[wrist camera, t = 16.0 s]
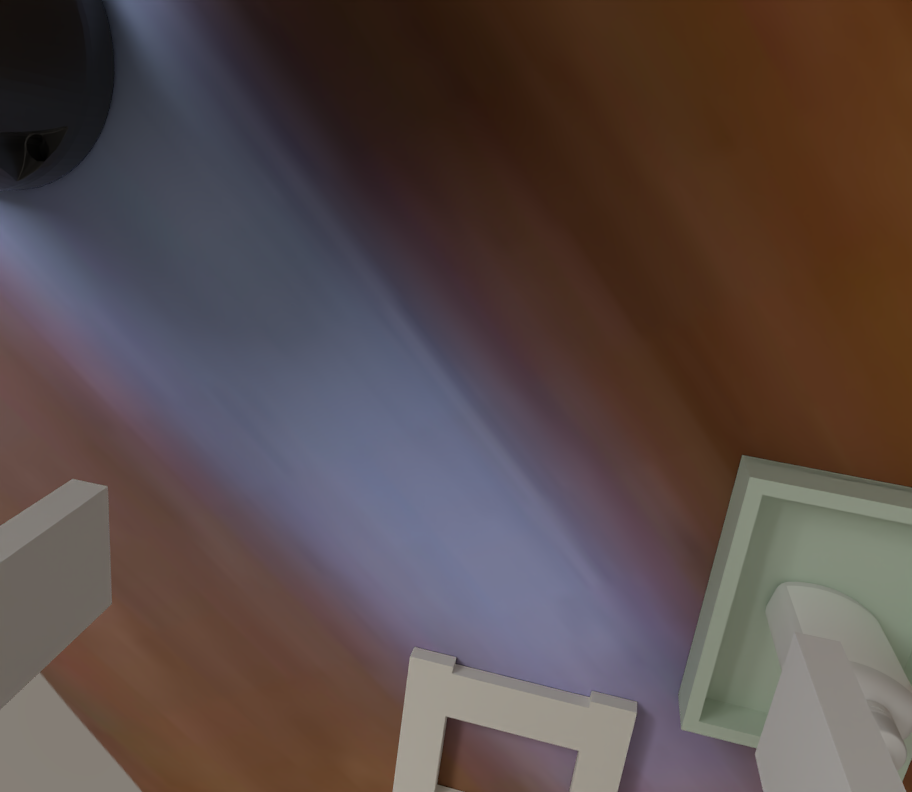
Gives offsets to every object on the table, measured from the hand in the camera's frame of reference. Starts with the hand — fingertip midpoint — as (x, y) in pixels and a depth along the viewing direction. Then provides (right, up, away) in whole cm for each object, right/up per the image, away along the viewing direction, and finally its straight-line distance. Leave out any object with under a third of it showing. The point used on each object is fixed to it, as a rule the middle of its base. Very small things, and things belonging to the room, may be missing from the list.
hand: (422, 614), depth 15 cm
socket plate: (+4, -20, +36) cm, 41 cm away
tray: (+20, -7, +28) cm, 36 cm away
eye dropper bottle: (+20, -8, +28) cm, 35 cm away
